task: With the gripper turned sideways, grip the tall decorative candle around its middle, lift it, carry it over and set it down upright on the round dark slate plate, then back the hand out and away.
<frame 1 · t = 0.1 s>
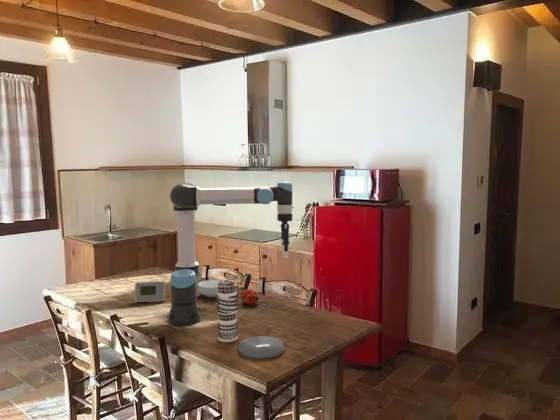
hand: (285, 254, 230), 28 cm above the table, tool pointing down, fingers open, 13 cm apart
decorative candle: (228, 338, 194), on the table
slate plate: (261, 349, 182), on the table
cereal bowl: (213, 295, 257), on the table
digital clock: (150, 301, 248), on the table
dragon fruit: (250, 304, 242), on the table
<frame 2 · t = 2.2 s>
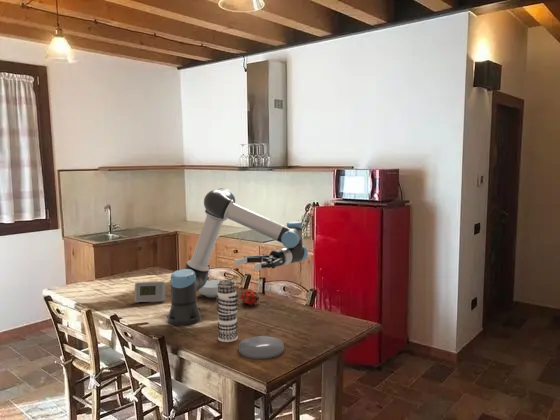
hand: (244, 265, 198), 30 cm above the table, tool horizontal, fingers open, 13 cm apart
nothing on the table moved.
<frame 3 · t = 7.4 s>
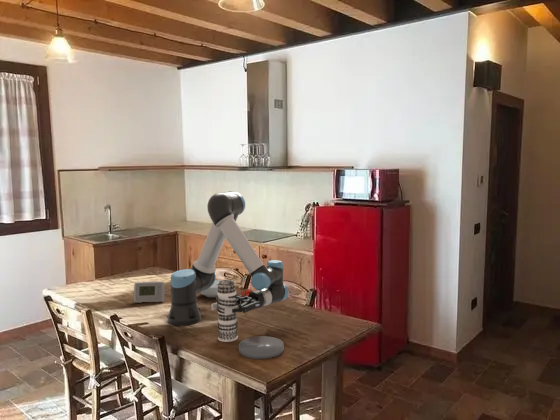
hand: (218, 309, 190), 14 cm above the table, tool horizontal, fingers closed on decorative candle, 8 cm apart
decorative candle: (228, 338, 194), on the table, touching gripper
everything else where it was.
when the fingers open (17 cm above the table, at t = 12.6 s): decorative candle drops 1 cm, resting on slate plate.
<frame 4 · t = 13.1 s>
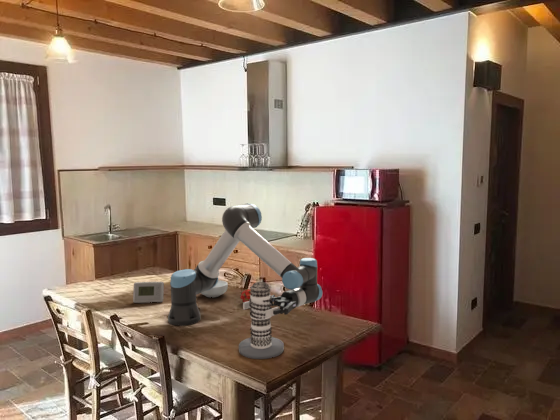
hand: (254, 310, 178), 17 cm above the table, tool horizontal, fingers open, 13 cm apart
decorative candle: (261, 345, 182), point 2 cm above the table, touching slate plate
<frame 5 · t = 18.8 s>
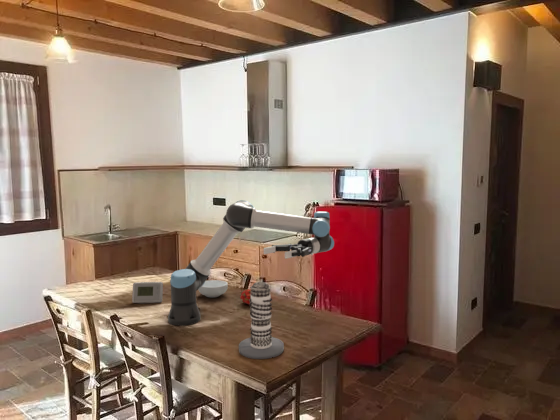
hand: (274, 253, 199), 35 cm above the table, tool horizontal, fingers open, 13 cm apart
at the end: decorative candle inside the target area on the slate plate (0.1 cm from its centre), point 1.8 cm above the slate plate's base; decorative candle tilted 0°; the gripper is holding nothing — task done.
